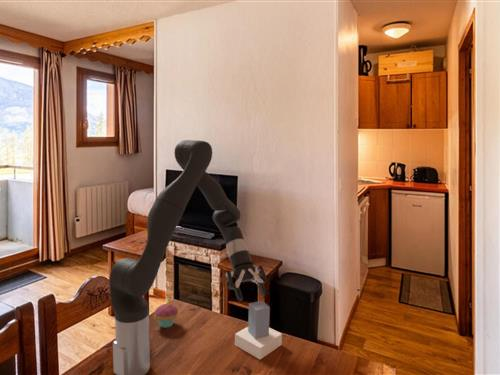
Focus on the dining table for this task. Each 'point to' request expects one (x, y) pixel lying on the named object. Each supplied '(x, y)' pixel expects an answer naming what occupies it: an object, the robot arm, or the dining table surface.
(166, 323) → the cupcake
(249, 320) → the block
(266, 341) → the base
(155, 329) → the dining table surface
